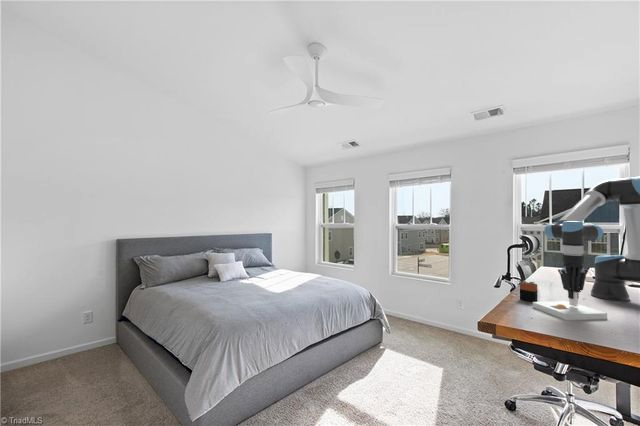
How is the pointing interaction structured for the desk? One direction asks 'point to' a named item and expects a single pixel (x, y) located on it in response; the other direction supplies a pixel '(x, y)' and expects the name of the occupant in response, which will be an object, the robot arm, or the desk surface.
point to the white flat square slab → (570, 311)
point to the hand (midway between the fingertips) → (573, 305)
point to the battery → (528, 291)
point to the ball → (560, 307)
